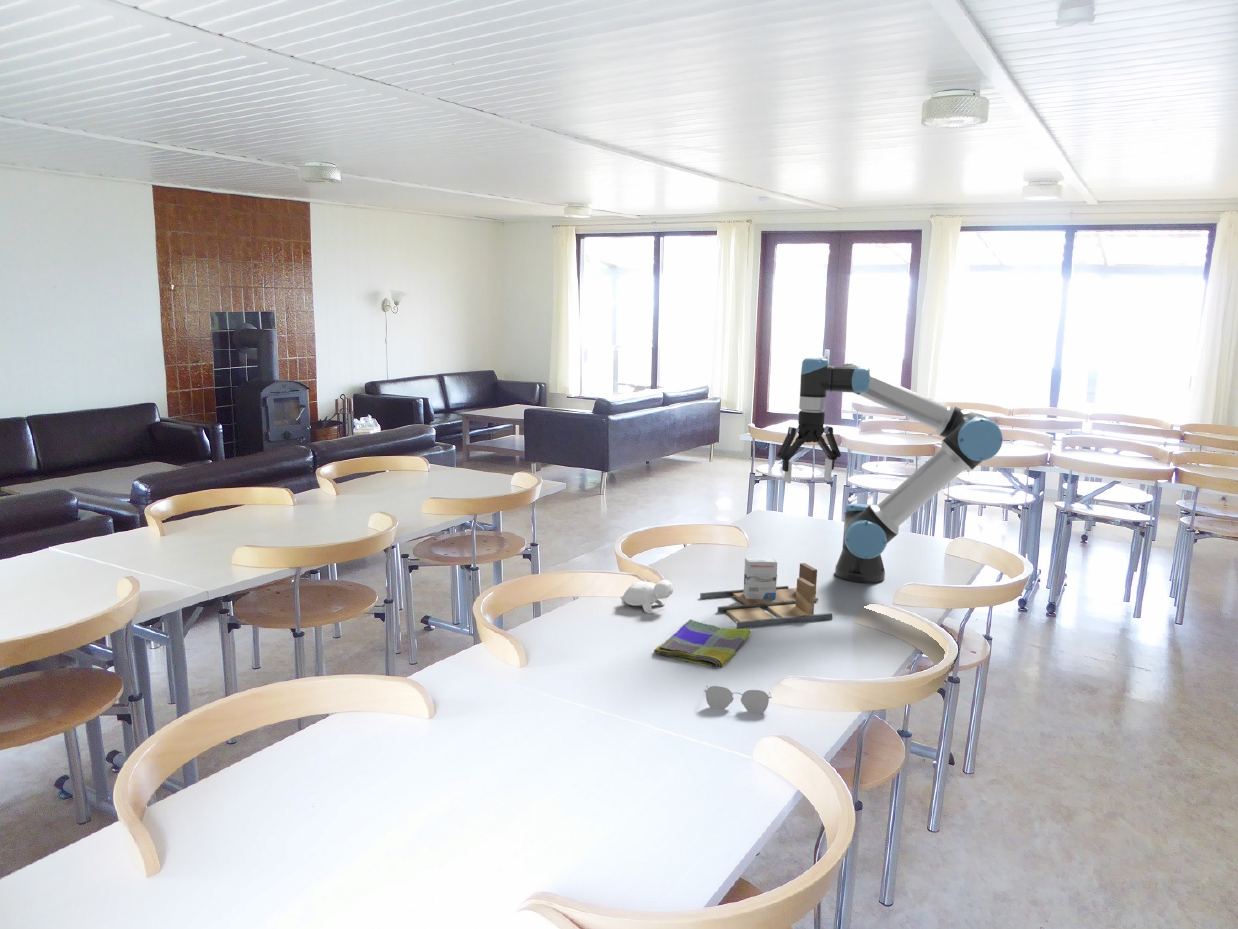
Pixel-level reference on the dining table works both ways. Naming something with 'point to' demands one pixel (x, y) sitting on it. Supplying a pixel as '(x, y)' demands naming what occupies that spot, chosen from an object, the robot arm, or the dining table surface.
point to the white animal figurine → (647, 594)
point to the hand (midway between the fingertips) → (807, 481)
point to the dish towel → (704, 644)
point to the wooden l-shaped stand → (782, 606)
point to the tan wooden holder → (785, 594)
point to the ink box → (760, 578)
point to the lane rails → (763, 606)
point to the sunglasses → (724, 697)
